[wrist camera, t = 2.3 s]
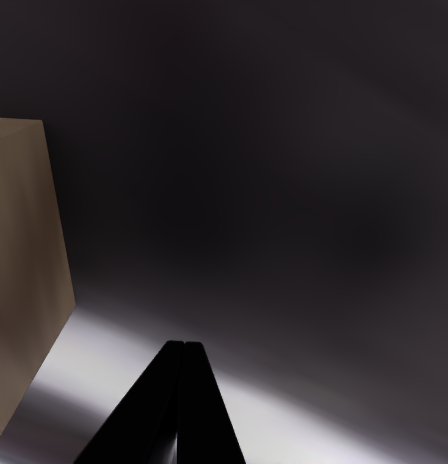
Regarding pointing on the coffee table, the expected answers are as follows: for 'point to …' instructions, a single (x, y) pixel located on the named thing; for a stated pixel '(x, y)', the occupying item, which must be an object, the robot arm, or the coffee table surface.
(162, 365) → the robot arm
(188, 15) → the coffee table surface
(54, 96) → the coffee table surface
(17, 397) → the brown wooden block
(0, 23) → the coffee table surface
